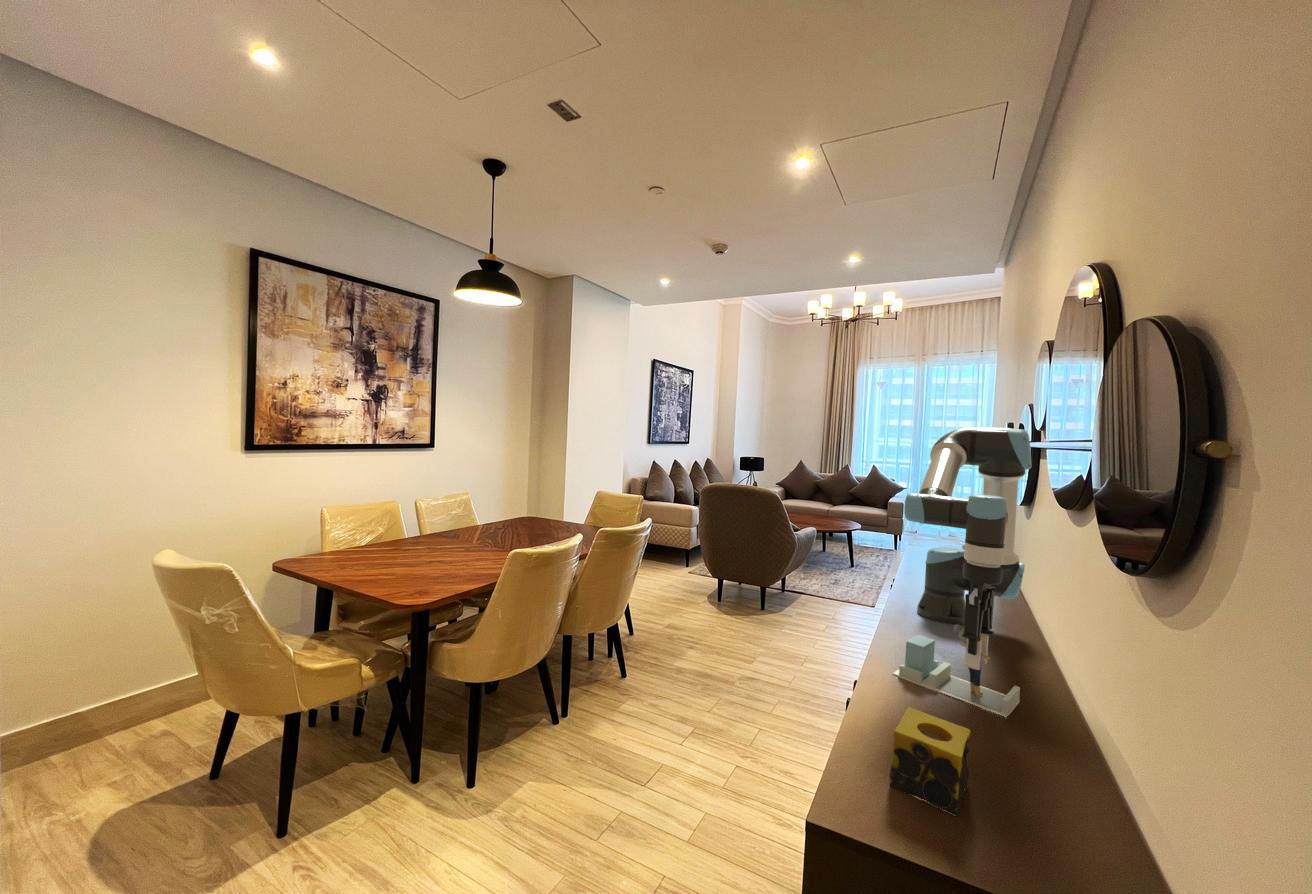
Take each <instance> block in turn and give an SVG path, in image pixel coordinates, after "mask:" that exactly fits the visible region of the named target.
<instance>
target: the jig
mask: <svg viewBox="0 0 1312 894" xmlns="http://www.w3.org/2000/svg"><path fill="white" fill-rule="evenodd" d="M951 672H952V664H951V663H949V662H947V661H944V662H942V663H941V664H940V665H939V660H937V659H934V664H933V671H931V672H930V673H929V675H928V676H927V677H925V678H924V679H923V672H921V671H918V670H916V669H913V668H910V667H907V666H905V664H900V665H899V669H897V670H895V671H893V672H892V675H893V676H896V677H898V678H900V679H903V680H906V681H908V682H911V683H913V684H916V685H918V686H921V687H923V688H925V689H929V690H932V691H934V692H936V691H937V692H936V693H939V694H941V693H942V695H944V694H945V695H944V696H946V695H948V696H947V697H949V696H951V697H950V698H952V697H954V698H957V699H960V700H963V701H966V702H969V703H971V704H973V705H975V706H978V707H980V708H983V709H986V710H988V711H991V712H994V713H996V714H999V715H1002V716H1004V717H1005V718H1004V719H1007V718H1008V717H1009V716H1010V715H1011V713H1012V712H1013V711H1014V709H1016V707H1017V706H1018V705H1019V703H1020V700H1021V699H1020V691H1021V686H1020V687H1019V686H1018V685H1014V686H1013V687H1012V688H1011V689H1010V690H1009V692H1007V694H1004V693H1001V692H999V691H997V690H992V689H991V688H988V687H985V686H981V685H980V692H983V695H976V694H975V692H972V691H971V687H970V681H968V680H965V679H962V678H960V677H957V676H954V675H951V674H952V673H951ZM954 698H953V699H954ZM957 699H956V700H957ZM975 706H974V707H975ZM980 708H979V709H980ZM983 709H982V710H983ZM988 711H987V712H988ZM1008 715H1009V716H1008ZM1007 716H1008V717H1007ZM1006 717H1007V718H1006Z"/></svg>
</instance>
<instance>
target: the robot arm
mask: <svg viewBox="0 0 1312 894" xmlns="http://www.w3.org/2000/svg"><path fill="white" fill-rule="evenodd" d="M929 456H930V458H929V459H930V463H929V466H928V468H927V470H926V473H925V476H924V479H923V482H922V484H921V486H920V489H919V492H915V493H912V492H911V493H907V495H906V497H905V500H904V505H903V506H904V508H903V509H904V510H903V512H904V518H905V519H906V520H907V521H909V522H914V523H919V524H921V525H923V524H924V525H925V524H926V525H931V526H932V525H934V526H941V527H942V526H943V527H950V528H956V529H957V528H958V529H963V530H965V538H964V544H962V546H961V548H960V547H954V546H953V547H952V546H941V547H933V548H930V549H929V550H928V551H927V553H926V559H925V574H924V575H925V576H924V590H923V593H922V595H921V597H920V600H919V601H918V604H917V610H916V612H917V614H918V615H919V616H920V617H922V618H924V619H927V620H930V621H933V622H936V623H941V624H944V623H945V625H951V624H952V625H953V626H954V625H956V624H958V625H960V626H963V625H964V626H963V628H964V634H963V635H962V636H963V637H965V638H967V644H966V647H965V661H964V666H965V667H967V668H968V667H970V668H973V669H976V670H980V658H981V663H982V664H984V665H986V664H987V663H988V659H986V658H984V657H983V656H981V653H982V654H985V655H987V656H988V650H989V638H990V636H993V635H994V631H993V630H992V629H993V618H994V617H993V615H994V603H995V597H997V598H1000V599H1001V598H1002V599H1004V598H1005V599H1009V600H1010V599H1011V600H1012V599H1016V598H1017V597H1018V596H1019V593H1020V590H1021V586H1022V583H1023V577H1024V573H1025V563H1023V562H1021V561H1020V557H1019V555H1018V554H1017V553H1016V552H1015V550H1014V549H1015V536H1016V535H1015V534H1016V521H1017V519H1016V517H1017V504H1018V503H1017V502H1018V492H1019V491H1018V490H1019V480H1020V479H1021V478H1023V477H1024V476H1025V475H1026V470H1030V469H1032V465H1033V464H1032V451H1031V442H1030V435H1029V433H1028V431H1027V430H1025V429H1022V428H1020V429H1019V428H1010V427H969V426H968V427H962V428H957V429H955V430H952V431H949V432H948V433H946V434H945V435H943V436H941V437H940V438H939V439H938V440H937V441H936V442H934V444H933V446H932V448H931V451H930V454H929ZM964 465H967V466H975V467H976V466H977V467H978V471H977V472H978V473H979V474H980V475H981V476H982V477H983V489H982V490H983V491H982V492H983V493H982V494H979V493H978V494H970V495H969V496H968V498H963V497H953V492H954V489H955V486H956V483H957V479H958V477H959V476H958V475H959V471H960V468H962V467H963V466H964ZM966 591H967V593H965V592H966ZM952 625H951V626H952ZM981 635H982V637H983V640H984V641H983V644H982V646H981V643H982V641H981V640H980V636H981Z"/></svg>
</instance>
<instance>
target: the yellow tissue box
mask: <svg viewBox="0 0 1312 894" xmlns="http://www.w3.org/2000/svg"><path fill="white" fill-rule="evenodd" d="M970 737H971V729H969V728H968V727H964V726H962V725H959V724H956V723H953V722H951V721H948V720H946V719H942V718H939V717H937V716H934V715H931V714H928V713H926V712H923V711H921V710H918V709H916V708H912V707H911V706H907V708H906V709H905V712H904V714H903V716H902V718H901V720H899V722H898V724H897V726H896V727H895V728H894V733H893V739H894V740H893V750H892V759H891V763H890V764H891V765H890V770H889V780H890V782H889V786H890V787H891V788H893V789H895V790H897V791H899V792H900V793H903V792H905V793H904V794H906V793H908V794H911V795H914V796H917V797H919V798H921V799H924V800H926V801H927V802H929V803H930V804H932V805H934V806H936V807H938V808H941V809H943V810H946V811H948V812H950V813H952V814H954V815H957V814H958V815H959V813H960V809H961V808H960V806H961V807H962V805H961V802H962V803H963V801H964V799H963V797H964V796H963V792H964V789H965V788H966V787H967V785H968V786H969V783H968V779H969V775H970V774H969V773H970V772H969V764H968V762H969V760H968V754H969V752H970V749H969V742H970V741H969V740H970ZM967 788H968V787H967ZM967 788H966V789H967ZM964 793H965V792H964ZM908 794H907V795H908ZM962 800H963V801H962ZM938 808H937V809H938ZM959 808H960V809H959ZM941 809H940V810H941ZM958 812H959V813H958ZM958 815H957V816H958Z"/></svg>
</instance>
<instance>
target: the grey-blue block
mask: <svg viewBox="0 0 1312 894" xmlns="http://www.w3.org/2000/svg"><path fill="white" fill-rule="evenodd" d="M935 642H936V639H934V638H933V639H932V638H930V637H926V636H923V635H920V634H917V635H915V636H914V637H911V638H910V639H908V640H906V643H905V659H904V661H905V662H904V665H905V666H907V667H910V668H913V669H916V670H918V671H921V672H923V679H924V678H925V677H927V676H928V675H929V673H930V672H931V671H933V664H934V660H935V648H936V647H935V646H936V645H935V644H936V643H935Z"/></svg>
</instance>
